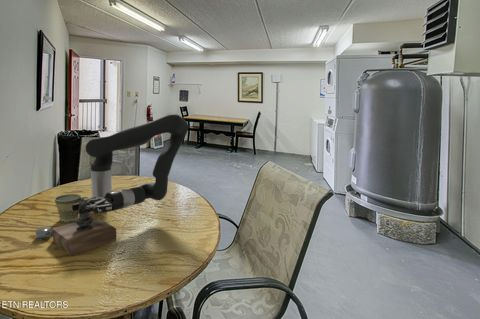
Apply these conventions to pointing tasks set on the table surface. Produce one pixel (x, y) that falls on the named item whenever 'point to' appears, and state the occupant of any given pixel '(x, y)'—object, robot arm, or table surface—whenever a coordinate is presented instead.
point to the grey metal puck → (43, 233)
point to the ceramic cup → (67, 206)
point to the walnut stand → (83, 236)
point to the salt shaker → (84, 218)
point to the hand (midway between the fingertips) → (75, 209)
